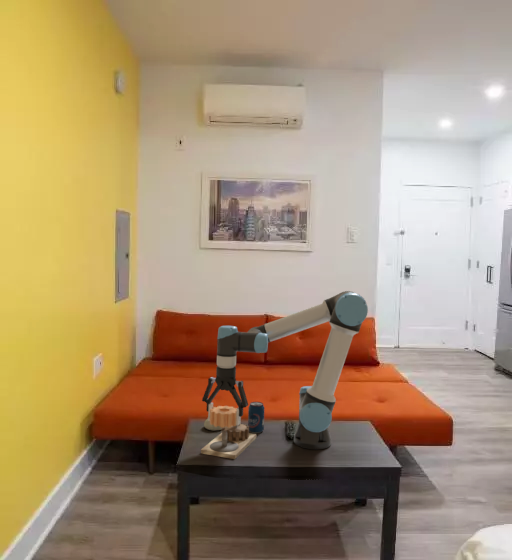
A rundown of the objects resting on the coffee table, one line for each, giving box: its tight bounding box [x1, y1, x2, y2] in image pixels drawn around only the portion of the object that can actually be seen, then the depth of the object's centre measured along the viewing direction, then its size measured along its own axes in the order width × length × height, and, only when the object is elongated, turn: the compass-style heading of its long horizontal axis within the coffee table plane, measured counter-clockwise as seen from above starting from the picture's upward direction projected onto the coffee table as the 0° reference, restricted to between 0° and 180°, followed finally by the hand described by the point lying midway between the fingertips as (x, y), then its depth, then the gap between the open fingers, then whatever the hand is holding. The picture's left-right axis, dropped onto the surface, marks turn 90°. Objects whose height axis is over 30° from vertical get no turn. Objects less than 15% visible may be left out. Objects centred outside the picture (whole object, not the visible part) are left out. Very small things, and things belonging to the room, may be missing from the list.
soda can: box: [247, 401, 265, 434], centre depth 215 cm, size 7×7×12 cm
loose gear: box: [210, 405, 238, 428], centre depth 191 cm, size 11×11×5 cm
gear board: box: [200, 423, 257, 460], centre depth 197 cm, size 14×24×8 cm, turn 161°
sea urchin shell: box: [203, 417, 222, 432], centre depth 217 cm, size 9×8×8 cm
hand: (224, 422), depth 192 cm, fingers closed on loose gear, 11 cm apart
